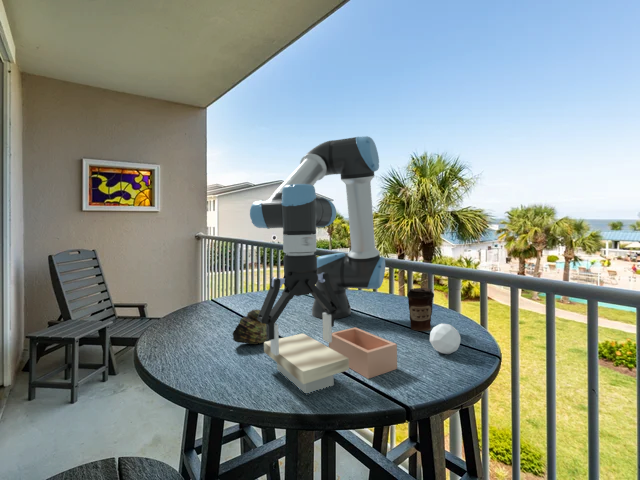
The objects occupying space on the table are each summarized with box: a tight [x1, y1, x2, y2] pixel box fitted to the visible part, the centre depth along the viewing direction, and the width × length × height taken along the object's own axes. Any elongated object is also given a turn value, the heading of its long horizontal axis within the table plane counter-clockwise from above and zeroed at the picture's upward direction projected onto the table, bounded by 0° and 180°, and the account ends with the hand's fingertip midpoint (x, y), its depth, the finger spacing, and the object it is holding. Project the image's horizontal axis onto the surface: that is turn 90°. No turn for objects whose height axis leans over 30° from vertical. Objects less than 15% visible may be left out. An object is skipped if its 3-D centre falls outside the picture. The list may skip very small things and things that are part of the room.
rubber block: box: [276, 362, 335, 394], centre depth 77 cm, size 14×7×4 cm, turn 32°
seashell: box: [232, 309, 269, 345], centre depth 101 cm, size 11×11×10 cm
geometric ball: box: [429, 323, 461, 355], centre depth 89 cm, size 8×8×8 cm
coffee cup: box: [407, 287, 435, 332], centre depth 108 cm, size 9×8×13 cm
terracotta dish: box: [328, 327, 398, 380], centre depth 84 cm, size 16×9×6 cm, turn 32°
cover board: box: [263, 332, 350, 384], centre depth 76 cm, size 20×11×2 cm, turn 32°
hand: (302, 346), depth 76 cm, fingers open, 13 cm apart
